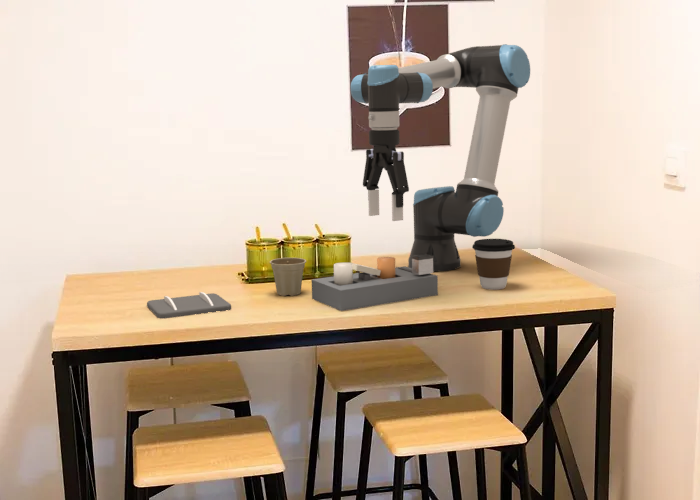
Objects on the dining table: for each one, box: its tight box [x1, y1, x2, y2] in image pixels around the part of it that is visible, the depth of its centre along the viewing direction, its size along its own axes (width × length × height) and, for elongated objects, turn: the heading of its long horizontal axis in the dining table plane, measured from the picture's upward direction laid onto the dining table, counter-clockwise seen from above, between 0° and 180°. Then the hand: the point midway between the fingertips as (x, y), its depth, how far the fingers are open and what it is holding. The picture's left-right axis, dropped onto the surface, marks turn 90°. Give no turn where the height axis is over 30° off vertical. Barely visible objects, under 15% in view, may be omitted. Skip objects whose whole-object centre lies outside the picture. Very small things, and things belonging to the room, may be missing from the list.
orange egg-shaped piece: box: [376, 256, 396, 279], centre depth 232 cm, size 5×5×6 cm
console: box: [311, 266, 439, 312], centre depth 231 cm, size 15×28×6 cm, turn 120°
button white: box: [333, 262, 354, 286], centre depth 226 cm, size 5×5×6 cm
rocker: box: [348, 262, 381, 276], centre depth 229 cm, size 4×7×1 cm, turn 120°
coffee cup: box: [472, 238, 516, 291], centre depth 239 cm, size 11×11×12 cm
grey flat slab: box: [146, 291, 232, 319], centre depth 226 cm, size 18×3×15 cm
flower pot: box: [269, 257, 307, 297], centre depth 237 cm, size 9×9×9 cm
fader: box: [411, 254, 434, 275], centre depth 232 cm, size 3×5×4 cm
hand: (385, 217), depth 230 cm, fingers open, 10 cm apart
